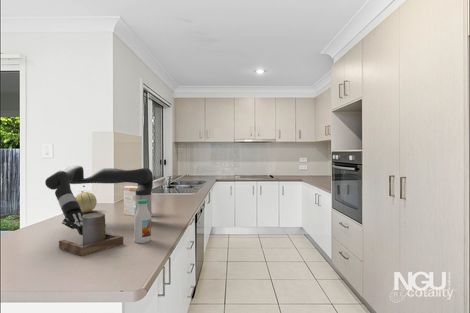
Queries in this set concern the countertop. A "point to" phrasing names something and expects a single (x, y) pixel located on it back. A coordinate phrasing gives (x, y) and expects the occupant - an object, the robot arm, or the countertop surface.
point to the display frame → (92, 245)
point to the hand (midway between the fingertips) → (83, 234)
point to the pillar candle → (93, 228)
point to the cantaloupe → (86, 201)
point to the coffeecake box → (130, 200)
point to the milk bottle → (142, 223)
